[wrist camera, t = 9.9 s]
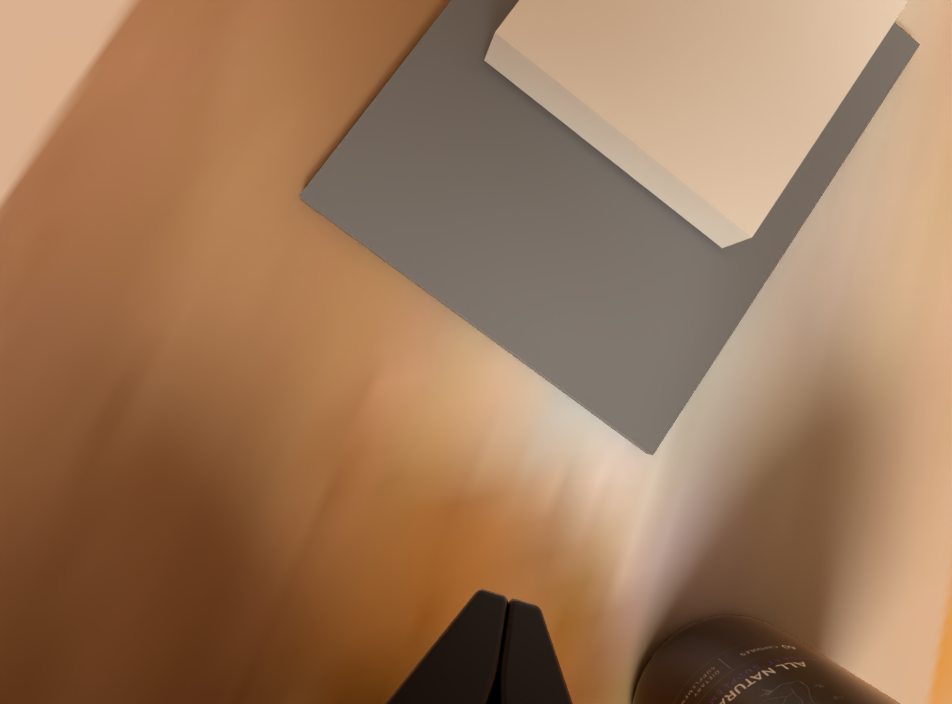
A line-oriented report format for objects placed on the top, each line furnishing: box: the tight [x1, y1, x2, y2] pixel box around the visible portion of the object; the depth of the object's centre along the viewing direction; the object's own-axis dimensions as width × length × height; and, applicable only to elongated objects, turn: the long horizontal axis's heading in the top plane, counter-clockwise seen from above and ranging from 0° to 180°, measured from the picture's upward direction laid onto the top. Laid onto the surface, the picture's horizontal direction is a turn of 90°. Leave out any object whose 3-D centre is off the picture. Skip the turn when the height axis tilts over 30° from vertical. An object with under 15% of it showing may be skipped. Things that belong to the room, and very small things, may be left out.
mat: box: [300, 0, 920, 455], centre depth 23 cm, size 18×14×1 cm
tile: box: [484, 0, 909, 248], centre depth 23 cm, size 2×10×12 cm
